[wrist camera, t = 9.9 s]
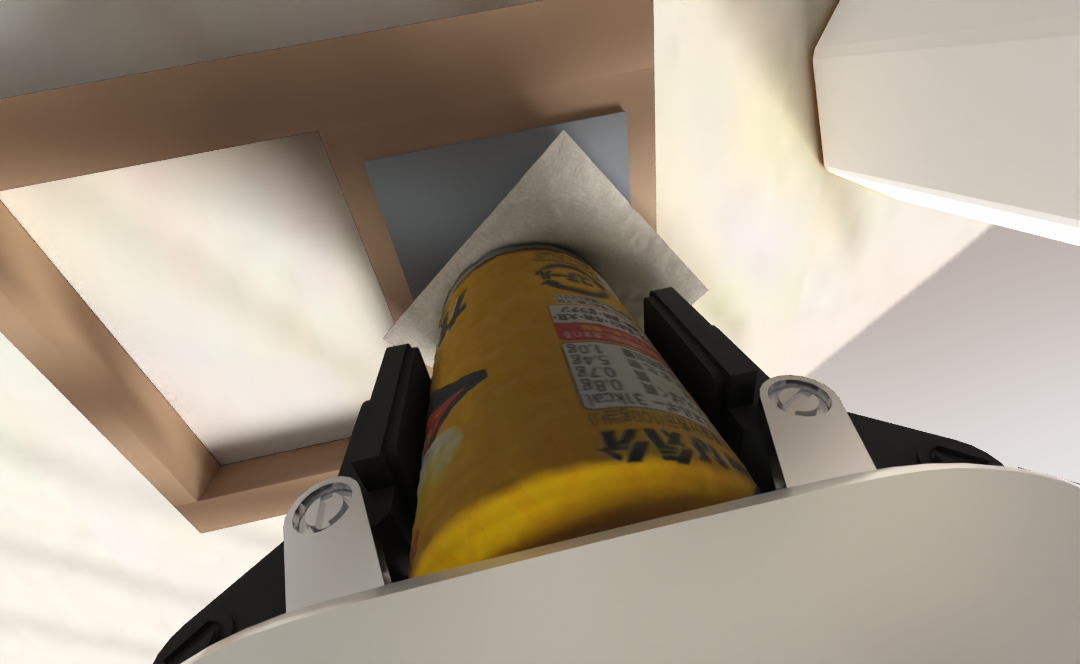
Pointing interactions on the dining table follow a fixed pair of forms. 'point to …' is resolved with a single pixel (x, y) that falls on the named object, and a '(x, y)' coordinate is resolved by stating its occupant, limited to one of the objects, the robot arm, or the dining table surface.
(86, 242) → the dining table surface
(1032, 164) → the cup
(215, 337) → the dining table surface
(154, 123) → the pocket board
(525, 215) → the condiment
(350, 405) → the dining table surface
